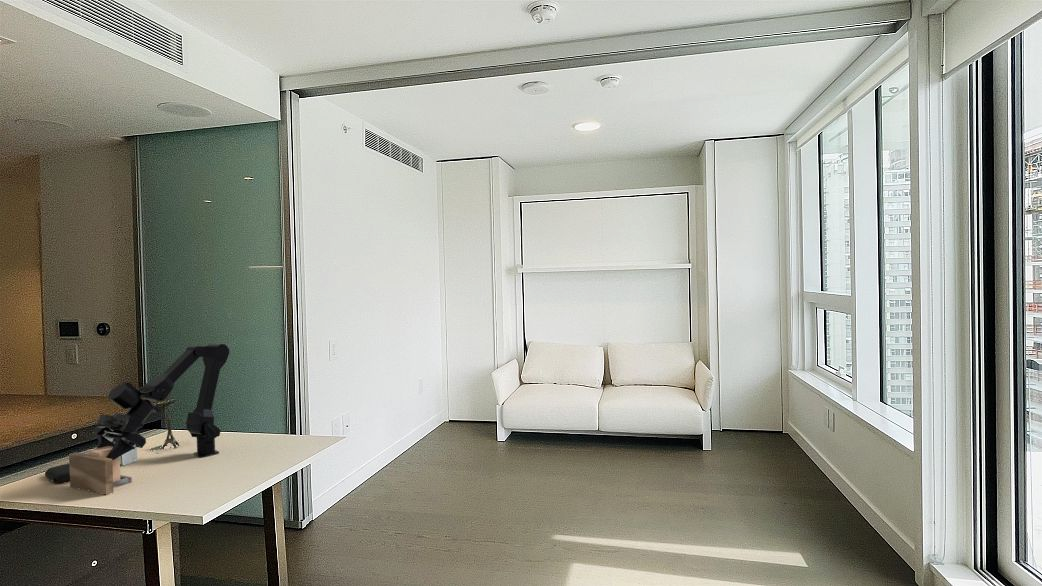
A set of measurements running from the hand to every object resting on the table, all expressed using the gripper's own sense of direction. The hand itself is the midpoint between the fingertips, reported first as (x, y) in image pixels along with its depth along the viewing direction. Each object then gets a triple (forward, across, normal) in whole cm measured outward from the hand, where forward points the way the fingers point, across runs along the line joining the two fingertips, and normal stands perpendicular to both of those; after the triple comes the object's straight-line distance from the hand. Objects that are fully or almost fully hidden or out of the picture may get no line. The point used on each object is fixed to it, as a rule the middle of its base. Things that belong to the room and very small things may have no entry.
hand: (99, 461), depth 178 cm
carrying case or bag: (+5, -21, +7) cm, 22 cm away
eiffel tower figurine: (-20, -22, +32) cm, 44 cm away
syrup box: (-7, -18, +18) cm, 27 cm away
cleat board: (+4, 0, +7) cm, 8 cm away
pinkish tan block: (+4, 0, +6) cm, 7 cm away
